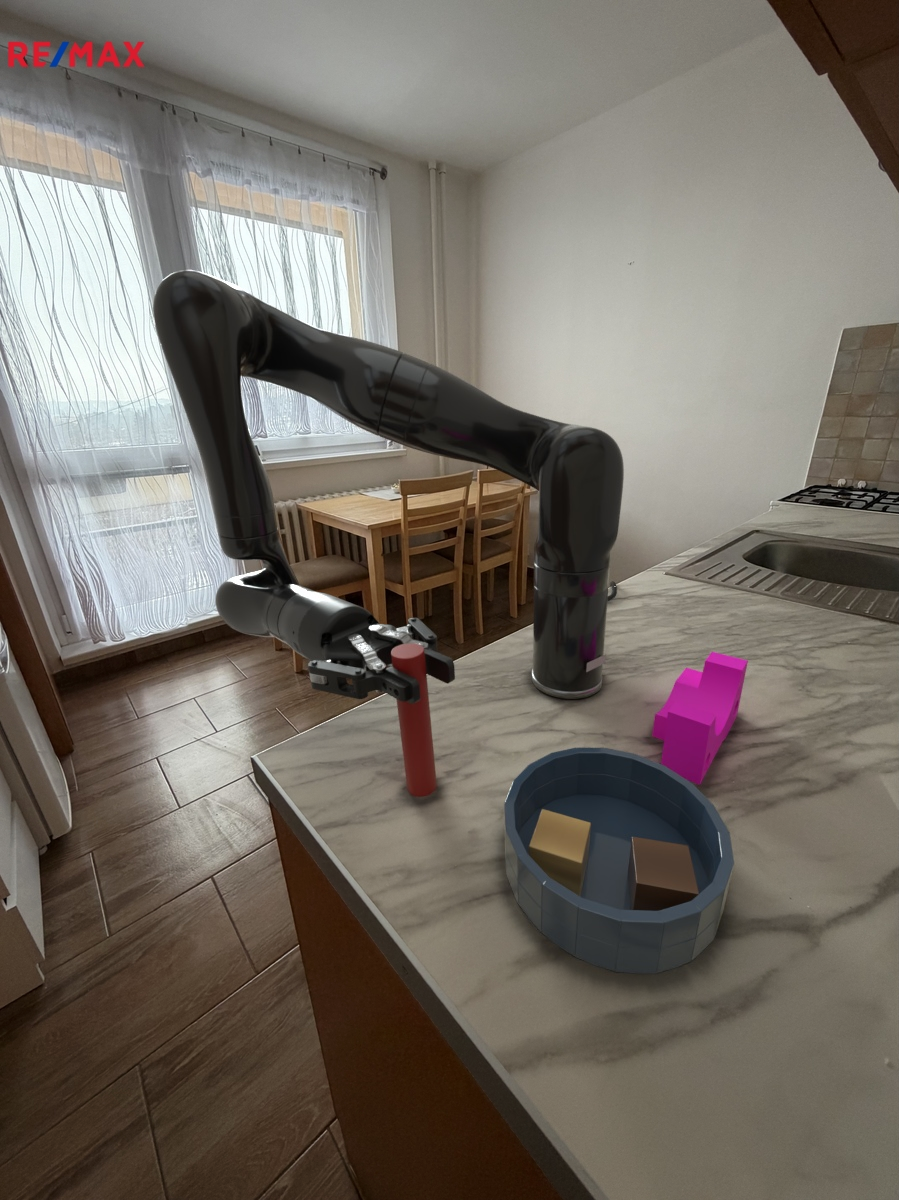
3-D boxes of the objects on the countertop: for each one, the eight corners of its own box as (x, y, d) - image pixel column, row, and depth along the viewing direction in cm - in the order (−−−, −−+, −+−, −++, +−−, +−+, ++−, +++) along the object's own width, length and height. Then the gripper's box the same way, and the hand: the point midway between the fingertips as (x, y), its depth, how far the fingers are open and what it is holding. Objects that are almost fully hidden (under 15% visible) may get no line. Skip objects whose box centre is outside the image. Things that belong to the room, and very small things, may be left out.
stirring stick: (416, 776, 51) (401, 641, 45) (441, 783, 50) (429, 645, 44) (402, 796, 48) (384, 655, 43) (429, 804, 47) (414, 660, 41)
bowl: (530, 777, 50) (531, 732, 48) (711, 819, 44) (720, 770, 42) (478, 928, 36) (476, 874, 34) (733, 1021, 30) (749, 963, 28)
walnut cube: (627, 873, 39) (631, 836, 37) (681, 883, 38) (688, 845, 36) (631, 921, 35) (636, 882, 34) (691, 933, 34) (699, 894, 33)
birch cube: (541, 843, 42) (542, 808, 40) (588, 858, 40) (591, 822, 39) (528, 883, 38) (528, 846, 37) (579, 901, 37) (582, 863, 35)
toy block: (681, 698, 61) (689, 645, 59) (736, 715, 57) (747, 660, 55) (635, 762, 51) (642, 702, 48) (699, 789, 47) (710, 725, 44)
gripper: (259, 620, 47) (364, 678, 36) (374, 580, 57) (486, 616, 45) (274, 686, 50) (375, 759, 39) (381, 638, 59) (488, 685, 48)
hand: (434, 682), depth 42 cm, fingers open, 3 cm apart
